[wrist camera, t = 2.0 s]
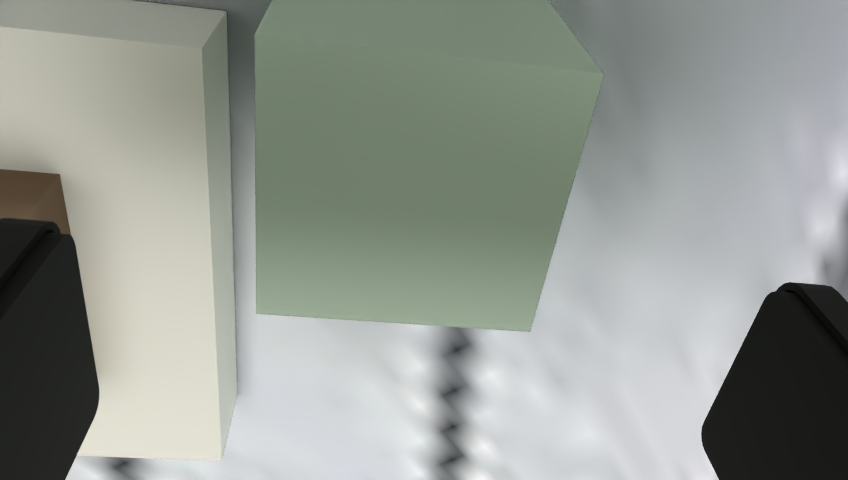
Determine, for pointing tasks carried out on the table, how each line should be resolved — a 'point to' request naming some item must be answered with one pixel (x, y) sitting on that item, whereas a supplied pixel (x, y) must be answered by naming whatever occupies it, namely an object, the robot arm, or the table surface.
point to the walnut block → (33, 197)
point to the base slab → (136, 204)
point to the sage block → (415, 157)
